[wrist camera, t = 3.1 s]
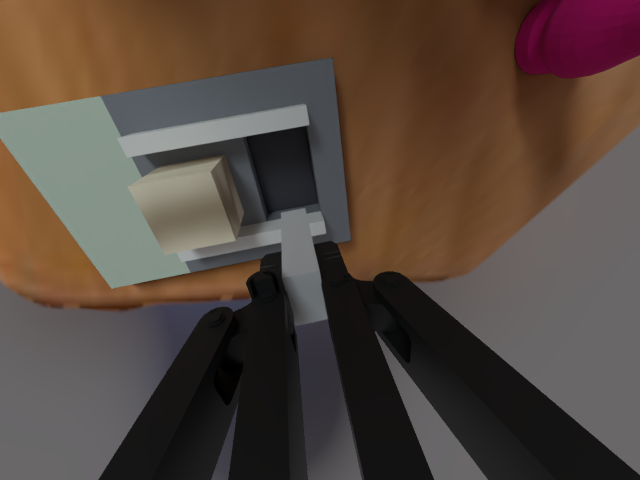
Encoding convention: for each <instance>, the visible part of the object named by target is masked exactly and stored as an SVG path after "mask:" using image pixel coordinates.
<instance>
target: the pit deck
mask: <svg viewBox="0 0 640 480" xmlns="http://www.w3.org/2000/svg"><path fill="white" fill-rule="evenodd" d="M305 127H306V132H305ZM306 133H307V138H306ZM246 136H247V137H246ZM247 138H248V140H247ZM0 139H1V140H2V141H3V143H4V144H5V145H6V147H7V148H8V150H9V151H10V152H11V154H12V155H13V156H14V158H15V159H16V160H17V162H18V163H19V164H20V166H21V167H22V168H23V170H24V171H25V172H26V174H27V175H28V177H29V178H30V179H31V181H32V182H33V183H34V185H35V186H36V187H37V189H38V190H39V191H40V193H41V194H42V195H43V197H44V198H45V199H46V201H47V202H48V204H49V205H50V206H51V208H52V209H53V210H54V212H55V213H56V214H57V216H58V217H59V218H60V220H61V221H62V222H63V224H64V225H65V226H66V228H67V229H68V231H69V232H70V233H71V235H72V236H73V237H74V239H75V240H76V241H77V243H78V244H79V245H80V247H81V248H82V249H83V251H84V252H85V253H86V255H87V256H88V258H89V259H90V260H91V262H92V263H93V264H94V266H95V267H96V268H97V270H98V271H99V272H100V274H101V275H102V276H103V278H104V279H105V280H106V282H107V283H108V284H109V286H110V287H111V288H116V287H121V286H126V285H131V284H136V283H141V282H146V281H151V280H156V279H161V278H166V277H171V276H176V275H181V274H186V273H191V272H196V271H201V270H206V269H211V268H216V267H221V266H226V265H231V264H236V263H241V262H246V261H251V260H256V259H261V258H263V257H264V256H265V255H266V254H271V253H276V252H281V251H282V247H281V213H282V212H287V211H292V210H297V209H302V208H305V210H306V214H307V219H308V223H309V227H310V232H311V236H312V240H313V244H317V243H322V242H327V241H333V242H334V243H341V242H346V241H351V236H350V226H349V216H348V206H347V196H346V186H345V176H344V166H343V156H342V146H341V136H340V126H339V116H338V106H337V96H336V86H335V76H334V66H333V57H332V58H326V59H320V60H314V61H308V62H302V63H296V64H290V65H284V66H278V67H272V68H266V69H260V70H254V71H248V72H242V73H236V74H230V75H224V76H218V77H212V78H206V79H200V80H194V81H188V82H182V83H176V84H170V85H165V86H159V87H153V88H147V89H141V90H135V91H129V92H123V93H117V94H111V95H105V96H99V97H93V98H87V99H81V100H75V101H69V102H63V103H57V104H51V105H45V106H39V107H33V108H27V109H21V110H15V111H9V112H3V113H0ZM307 139H308V144H307ZM248 142H249V144H248ZM249 145H250V148H249ZM308 146H309V150H308ZM250 149H251V151H250ZM309 152H310V156H309ZM251 153H252V155H251ZM219 155H225V156H226V159H227V162H228V165H229V168H230V171H231V174H232V177H233V180H234V183H235V186H236V189H237V192H238V195H239V198H240V202H241V205H242V208H243V211H244V215H243V218H242V222H241V225H240V229H239V232H238V236H237V239H236V241H233V242H228V243H223V244H217V245H212V246H207V247H202V248H197V249H192V250H187V251H182V252H177V253H172V254H167V255H165V254H164V252H163V250H162V248H161V247H160V245H159V243H158V241H157V239H156V238H155V236H154V234H153V232H152V230H151V228H150V227H149V225H148V223H147V221H146V219H145V218H144V216H143V214H142V212H141V210H140V209H139V207H138V205H137V203H136V201H135V199H134V198H133V196H132V194H131V192H130V190H129V189H128V186H130V185H131V184H133V183H134V182H136V181H137V180H139V179H141V178H142V177H144V176H145V175H147V174H149V173H150V172H152V171H153V170H155V169H157V168H158V167H160V166H164V165H170V164H175V163H181V162H186V161H192V160H197V159H203V158H208V157H214V156H219ZM252 156H253V158H252ZM310 158H311V162H310ZM253 160H254V162H253ZM254 164H255V166H254ZM311 164H312V169H311ZM255 167H256V169H255ZM312 170H313V175H312ZM256 171H257V173H256ZM257 175H258V177H257ZM313 176H314V181H313ZM258 178H259V180H258ZM259 182H260V184H259ZM314 182H315V187H314ZM260 185H261V187H260ZM261 189H262V191H261ZM315 189H316V193H315ZM262 193H263V195H262ZM316 195H317V199H316ZM263 196H264V198H263ZM264 200H265V202H264ZM317 201H318V203H317ZM265 204H266V205H265ZM266 207H267V209H266ZM267 211H268V212H267Z"/></svg>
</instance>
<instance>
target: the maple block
mask: <svg viewBox="0 0 640 480" xmlns="http://www.w3.org/2000/svg"><path fill="white" fill-rule="evenodd" d="M128 189H129V190H130V192H131V194H132V196H133V198H134V199H135V201H136V203H137V205H138V207H139V209H140V210H141V212H142V214H143V216H144V218H145V219H146V221H147V223H148V225H149V227H150V228H151V230H152V232H153V234H154V236H155V238H156V239H157V241H158V243H159V245H160V247H161V248H162V250H163V252H164V254H165V255H167V254H172V253H177V252H182V251H187V250H192V249H197V248H202V247H207V246H212V245H217V244H223V243H228V242H233V241H236V239H237V236H238V232H239V229H240V225H241V222H242V218H243V215H244V211H243V208H242V205H241V202H240V198H239V195H238V192H237V189H236V186H235V183H234V180H233V177H232V174H231V171H230V168H229V165H228V162H227V159H226V156H225V155H219V156H214V157H208V158H203V159H197V160H192V161H186V162H181V163H175V164H170V165H164V166H160V167H158V168H157V169H155V170H153V171H152V172H150V173H149V174H147V175H145V176H144V177H142V178H141V179H139V180H137V181H136V182H134V183H133V184H131V185H130V186H128Z"/></svg>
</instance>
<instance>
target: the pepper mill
mask: <svg viewBox="0 0 640 480" xmlns="http://www.w3.org/2000/svg"><path fill="white" fill-rule="evenodd" d="M639 55H640V0H542V1H540V2H539V3H538V4H537V5H536V6H535V7H534V8H533V9H532V10H531V12H530V13H529V14H528V15H527V17H526V19H525V20H524V22H523V24H522V25H521V28H520V30H519V33H518V36H517V39H516V45H515V56H516V61H517V63H518V66H519V67H520V68H521V69H522V71H524V72H526V73H528V74H534V75H535V74H548V73H552V74H554V75H556V76H557V77H561V78H578V77H584V76H590V75H593V74H596V73H599V72H603V71H605V70H608V69H610V68H612V67H615V66H617V65H619V64H621V63H623V62H625V61H628V60H630V59H632V58H634V57H637V56H639Z"/></svg>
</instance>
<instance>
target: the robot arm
mask: <svg viewBox="0 0 640 480" xmlns="http://www.w3.org/2000/svg"><path fill="white" fill-rule="evenodd" d="M281 247H282V251H281V252H276V253H271V254H266V255H265V256H264V257H263V259H262V260H261V266H260V271H259V272H256V273H255V274H253V275H251V276H250V277H249V278H248V280H247V282H246V285H247V287H248V290H249V293H250V295H251V298H252V302H251V303H250V304H248V305H247V306H245V307H243V308H241V309H239V310H237V311H235V312H233V311H232V309H230V308H229V307H219V308H215V309H213V310H211V311H209V312H208V313H206V314H205V315H204V316H203V317H202V318H201V319H200V321H199V322H198V324H197V325H196V327H195V328H194V330H193V331H192V333H191V335H190V336H189V338H188V339H187V341H186V343H185V344H184V346H183V347H182V349H181V350H180V352H179V354H178V355H177V357H176V358H175V360H174V361H173V363H172V365H171V366H170V368H169V369H168V371H167V372H166V374H165V376H164V377H163V379H162V380H161V382H160V384H159V385H158V387H157V388H156V390H155V391H154V393H153V395H152V396H151V398H150V399H149V401H148V403H147V404H146V406H145V407H144V409H143V411H142V412H141V413H140V415H139V417H138V418H137V420H136V421H135V423H134V424H133V426H132V428H131V429H130V431H129V432H128V434H127V436H126V437H125V439H124V440H123V442H122V444H121V445H120V447H119V448H118V450H117V451H116V453H115V454H114V456H113V458H112V459H111V461H110V462H109V464H108V465H107V467H106V469H105V470H104V472H103V473H102V475H101V477H100V478H99V480H211V478H212V475H213V472H214V470H215V467H216V464H217V461H218V458H219V455H220V452H221V450H222V446H223V444H224V441H225V438H226V435H227V432H228V430H229V427H230V424H231V421H232V418H233V415H234V412H235V410H236V407H237V404H238V409H237V417H236V425H235V432H234V440H233V448H232V456H231V463H230V471H229V479H228V480H308V475H307V463H306V450H305V437H304V425H303V424H304V423H303V410H302V398H301V384H300V371H299V358H298V345H297V335H296V332H295V328H294V322H295V326H298V325H303V324H307V323H312V322H317V321H322V320H326V319H328V322H329V327H330V332H331V338H332V342H333V346H334V351H335V355H336V360H337V365H338V370H339V374H340V379H341V384H342V388H343V393H344V398H345V402H346V407H347V411H348V416H349V421H350V425H351V430H352V435H353V439H354V444H355V449H356V453H357V458H358V463H359V468H360V472H361V477H362V480H434V478H433V476H432V473H431V471H430V468H429V466H428V463H427V461H426V459H425V456H424V454H423V451H422V448H421V446H420V443H419V441H418V438H417V436H416V433H415V431H414V429H413V426H412V423H411V421H410V419H409V416H408V414H407V411H406V409H405V406H404V404H403V401H402V399H401V396H400V394H399V391H398V389H397V386H396V384H395V381H394V379H393V376H392V374H391V371H390V369H389V366H388V364H387V361H386V359H385V356H384V354H383V351H382V349H381V346H380V344H379V342H378V339H377V336H376V334H375V331H377V333H378V335H379V336H380V338H381V339H382V340H383V342H384V343H385V344H386V345H387V347H388V348H389V349H390V351H391V352H392V353H393V355H394V356H395V357H396V359H397V360H398V361H399V363H400V364H401V365H402V367H403V368H404V369H405V371H406V372H407V373H408V375H409V376H410V377H411V378H412V380H413V381H414V382H415V384H416V385H417V386H418V388H419V389H420V390H421V392H422V393H423V394H424V395H425V397H426V398H427V400H428V401H429V402H430V403H431V405H432V406H433V407H434V409H435V410H436V411H437V413H438V414H439V415H440V417H441V418H442V419H443V421H444V422H445V423H446V425H447V426H448V427H449V428H450V430H451V431H452V433H453V434H454V435H455V437H456V438H457V439H458V440H459V442H460V443H461V444H462V446H463V447H464V448H465V450H466V451H467V452H468V454H469V455H470V456H471V458H472V459H473V460H474V461H475V463H476V464H477V465H478V467H479V468H480V470H481V471H482V472H483V473H484V475H485V476H486V477H487V479H488V480H640V475H639V474H638V473H637V472H635V471H634V470H633V469H632V468H631V467H629V466H628V465H627V464H626V463H625V462H624V461H622V460H621V459H620V458H619V457H618V456H616V455H615V454H614V453H613V452H612V451H611V450H609V449H608V448H607V447H606V446H605V445H603V444H602V443H601V442H600V441H599V440H598V439H596V438H595V437H594V436H593V435H592V434H590V433H589V432H588V431H587V430H586V429H584V428H583V427H582V426H581V425H580V424H579V423H578V422H576V421H575V420H574V419H573V418H572V417H570V416H569V415H568V414H567V413H566V412H564V411H563V410H562V409H561V408H560V407H559V406H557V405H556V404H555V403H554V402H553V401H552V400H550V399H549V398H548V397H547V396H546V395H544V394H543V393H542V392H541V391H540V390H539V389H537V388H536V387H535V386H534V385H533V384H531V383H530V382H529V381H528V380H527V379H526V378H524V377H523V376H522V375H521V374H520V373H519V372H517V371H516V370H515V369H514V368H513V367H511V366H510V365H509V364H508V363H507V362H506V361H504V360H503V359H502V358H501V357H500V356H498V355H497V354H496V353H495V352H494V351H493V350H491V349H490V348H489V347H488V346H486V345H485V344H484V343H483V342H482V341H481V340H480V339H478V338H477V337H476V336H475V335H473V334H472V333H471V332H470V331H469V330H468V329H466V328H465V327H464V326H463V325H462V324H460V323H459V322H458V321H457V320H456V319H455V318H454V317H452V316H451V315H450V314H449V313H448V312H446V311H445V310H444V309H443V308H442V307H441V306H439V305H438V304H437V303H436V302H435V301H433V300H432V299H431V298H430V297H429V296H428V295H426V294H425V293H424V292H423V291H422V290H421V289H419V288H418V287H417V286H416V285H415V284H413V283H412V282H411V281H410V280H409V279H408V278H406V277H405V276H404V275H402V274H400V273H397V272H388V271H387V272H383V273H380V274H378V275H376V277H375V278H374V280H373V281H360V280H356V279H354V278H353V277H352V276H351V275H350V274H349V273H348V271H347V268H346V266H345V263H344V261H343V258H342V256H341V253H340V251H339V248H338V245H337V244H336V243H334V242H333V241H327V242H322V243H317V244H313V240H312V236H311V232H310V227H309V223H308V219H307V214H306V210H305V208H302V209H297V210H292V211H287V212H282V213H281ZM238 401H239V402H238Z"/></svg>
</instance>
